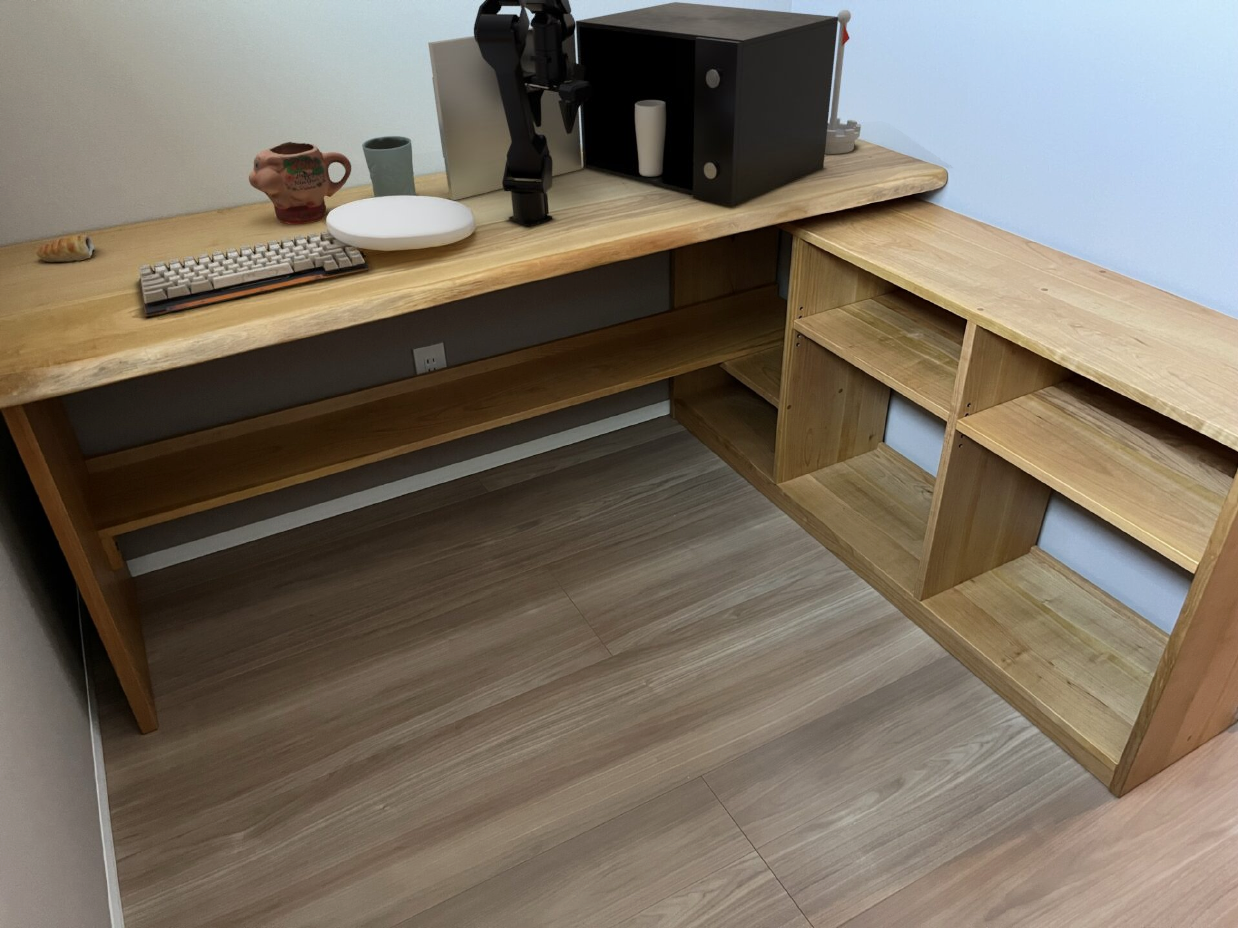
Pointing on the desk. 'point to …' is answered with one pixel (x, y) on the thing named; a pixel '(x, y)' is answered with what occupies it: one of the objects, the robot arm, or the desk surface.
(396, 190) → the green cup
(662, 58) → the microwave
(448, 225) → the white round disc
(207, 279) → the mechanical keyboard
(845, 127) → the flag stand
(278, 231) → the desk surface
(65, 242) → the pastry
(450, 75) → the microwave door
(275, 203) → the sculpted ceramic mug
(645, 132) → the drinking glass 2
